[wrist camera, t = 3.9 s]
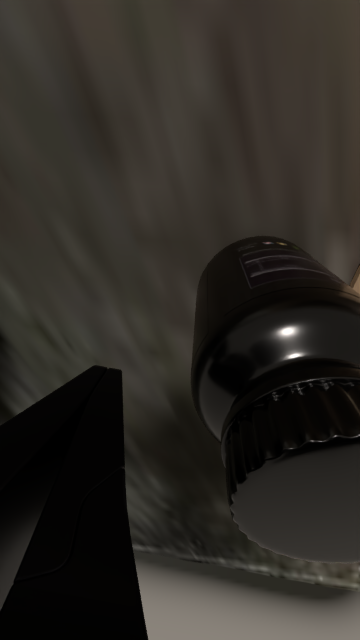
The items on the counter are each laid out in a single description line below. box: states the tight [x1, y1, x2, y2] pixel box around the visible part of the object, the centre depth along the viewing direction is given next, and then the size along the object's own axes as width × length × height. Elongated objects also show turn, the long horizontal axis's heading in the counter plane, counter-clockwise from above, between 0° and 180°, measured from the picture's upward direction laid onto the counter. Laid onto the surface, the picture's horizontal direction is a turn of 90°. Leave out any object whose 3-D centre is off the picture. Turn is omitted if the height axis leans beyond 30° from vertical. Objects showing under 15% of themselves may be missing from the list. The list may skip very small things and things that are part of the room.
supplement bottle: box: [191, 236, 360, 563], centre depth 11 cm, size 7×7×12 cm
